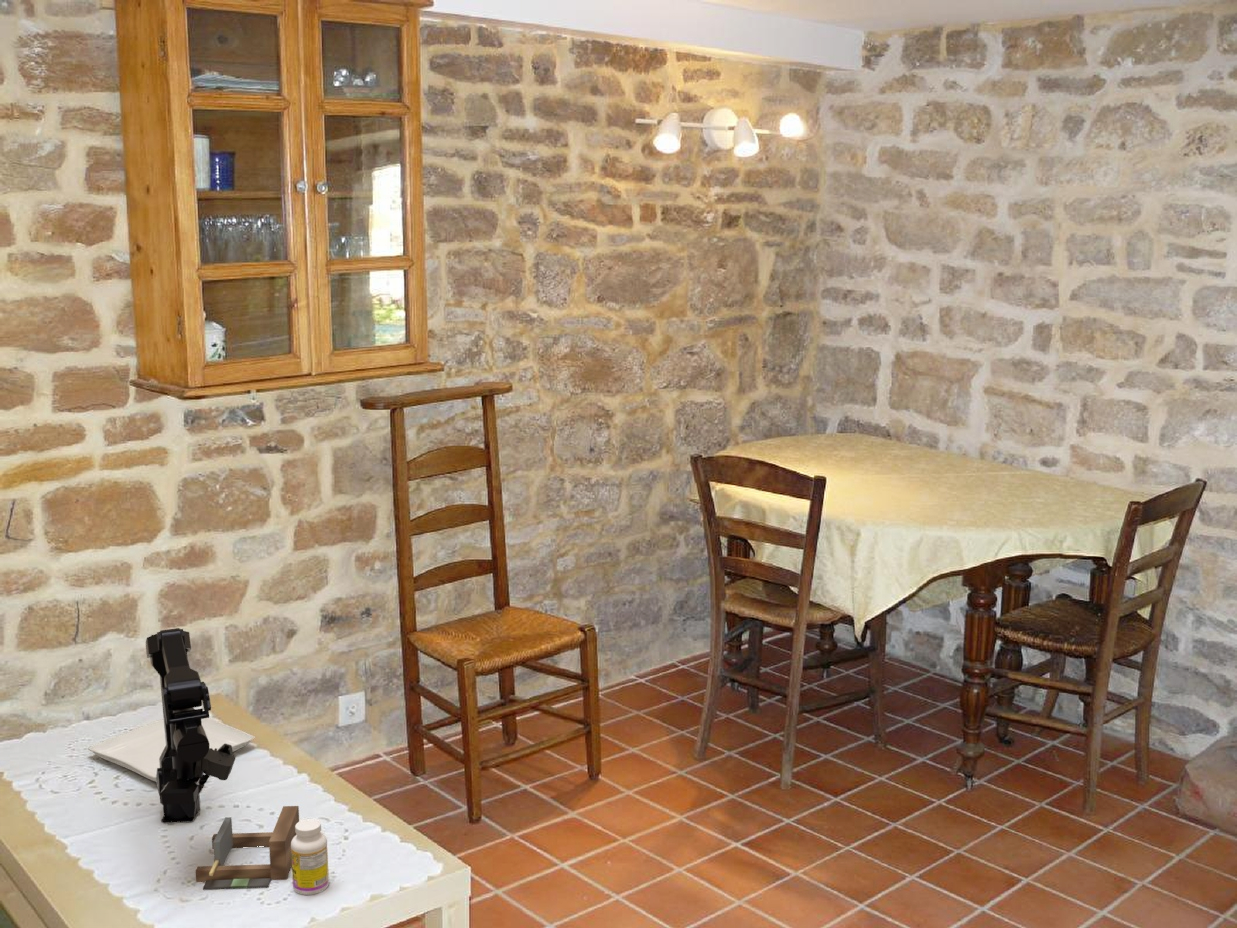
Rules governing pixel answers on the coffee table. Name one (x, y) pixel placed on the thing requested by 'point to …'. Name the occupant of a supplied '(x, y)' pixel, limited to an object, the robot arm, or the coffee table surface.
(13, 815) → the coffee table surface
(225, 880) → the brown wooden frame
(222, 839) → the pad
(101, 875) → the coffee table surface
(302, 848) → the supplement bottle
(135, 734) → the square plate
